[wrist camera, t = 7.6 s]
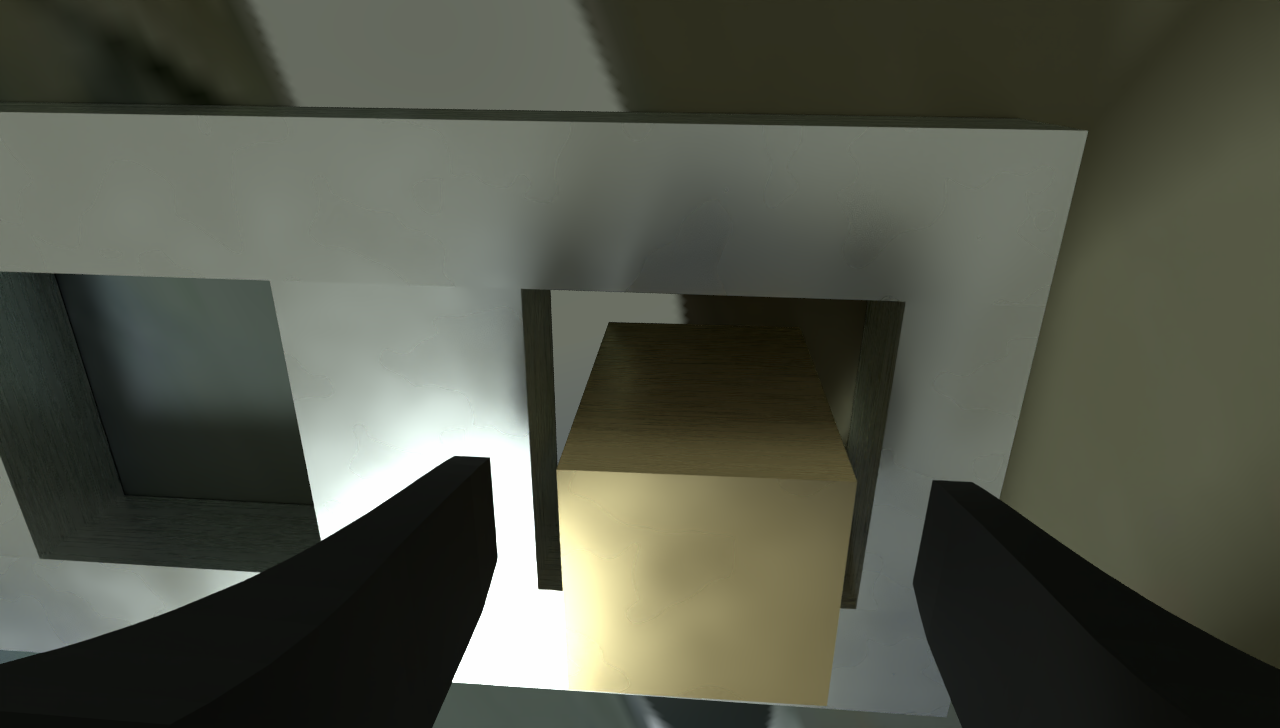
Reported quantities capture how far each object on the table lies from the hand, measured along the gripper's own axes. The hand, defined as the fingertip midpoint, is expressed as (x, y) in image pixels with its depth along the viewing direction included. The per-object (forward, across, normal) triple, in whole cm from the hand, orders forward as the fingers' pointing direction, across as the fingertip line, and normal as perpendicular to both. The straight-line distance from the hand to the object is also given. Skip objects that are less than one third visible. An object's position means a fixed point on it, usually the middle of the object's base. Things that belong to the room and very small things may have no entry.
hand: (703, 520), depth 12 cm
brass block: (+4, 0, 0) cm, 4 cm away
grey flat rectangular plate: (+4, +6, 0) cm, 7 cm away
